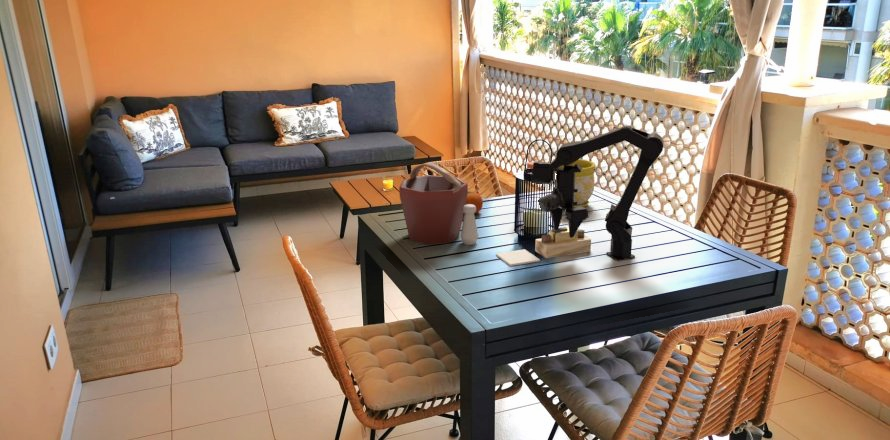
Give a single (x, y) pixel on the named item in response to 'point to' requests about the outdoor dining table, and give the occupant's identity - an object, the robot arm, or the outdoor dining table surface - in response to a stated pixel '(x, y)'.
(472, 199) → the fruit
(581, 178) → the flowerpot
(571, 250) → the plane body
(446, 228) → the bucket
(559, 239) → the tan slotted block
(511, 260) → the mat
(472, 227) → the salt shaker
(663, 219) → the outdoor dining table surface
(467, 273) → the outdoor dining table surface
